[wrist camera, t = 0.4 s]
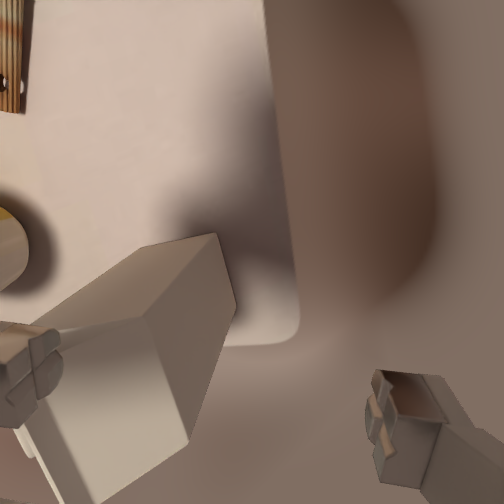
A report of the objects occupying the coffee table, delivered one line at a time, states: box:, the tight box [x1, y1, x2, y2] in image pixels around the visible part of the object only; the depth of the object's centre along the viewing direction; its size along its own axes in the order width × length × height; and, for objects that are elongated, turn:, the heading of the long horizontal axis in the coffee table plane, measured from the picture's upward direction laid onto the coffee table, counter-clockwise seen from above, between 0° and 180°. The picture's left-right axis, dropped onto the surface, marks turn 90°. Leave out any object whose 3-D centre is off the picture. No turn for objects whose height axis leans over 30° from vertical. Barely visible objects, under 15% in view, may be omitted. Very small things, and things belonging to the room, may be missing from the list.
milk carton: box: [13, 233, 236, 504], centre depth 22 cm, size 7×7×19 cm
